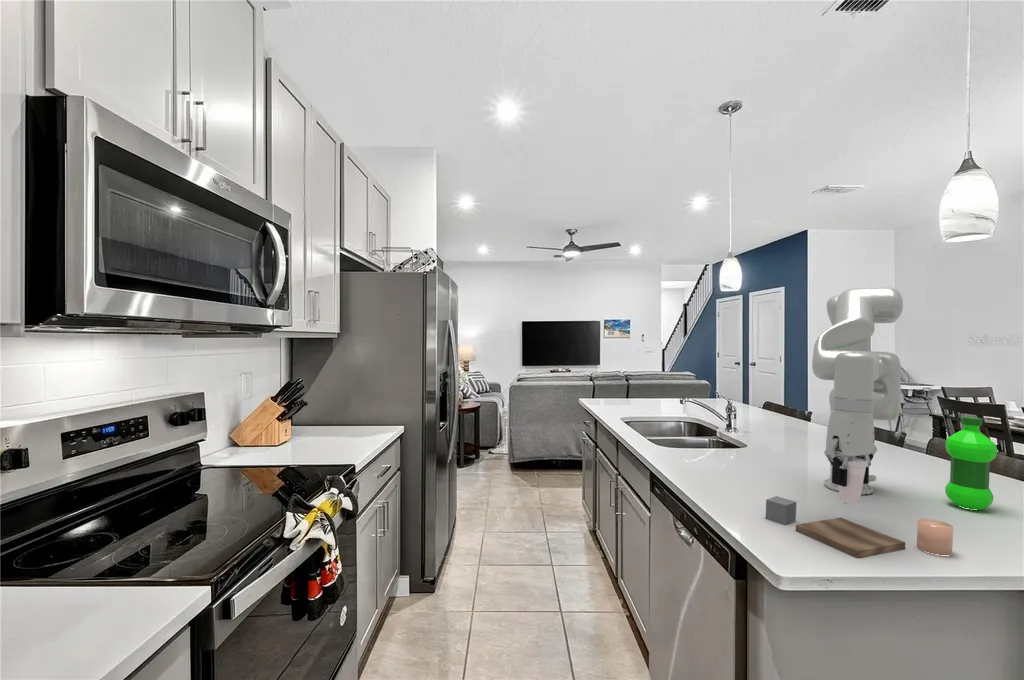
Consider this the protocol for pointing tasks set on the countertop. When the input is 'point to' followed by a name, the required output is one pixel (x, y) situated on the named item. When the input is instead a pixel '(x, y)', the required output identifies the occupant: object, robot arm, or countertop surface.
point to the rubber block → (781, 510)
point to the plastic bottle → (970, 466)
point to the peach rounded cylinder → (934, 536)
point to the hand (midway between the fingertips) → (850, 482)
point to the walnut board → (850, 537)
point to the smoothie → (853, 479)
